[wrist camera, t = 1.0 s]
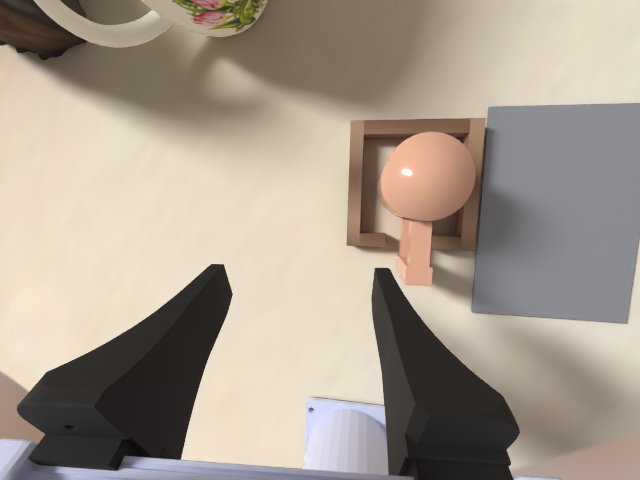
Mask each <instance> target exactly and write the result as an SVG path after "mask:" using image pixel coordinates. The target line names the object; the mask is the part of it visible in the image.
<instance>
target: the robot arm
mask: <svg viewBox="0 0 640 480" xmlns="http://www.w3.org/2000/svg"><path fill="white" fill-rule="evenodd" d="M232 295H233V294H232V291H231V287H230V284H229V281H228V277H227V274H226V271H225V267H224V264H211V265H210V266H209V267H207V268H206V269H205V270H204V271H203V272H202V273H201V274H200V275H199V276H197V277H196V278H195V279H194V280H193V281H192V282H191V283H190V284H188V285H187V286H186V287H185V288H184V289H183V290H182V291H180V292H179V293H178V294H177V295H176V296H174V297H173V298H172V299H171V300H169V301H168V302H167V303H166V304H164V305H163V306H162V307H161V308H159V309H158V310H157V311H156V312H154V313H153V314H151V315H150V316H149V317H147V318H146V319H144V320H143V321H141V322H140V323H138V324H137V325H135V326H134V327H132V328H131V329H129V330H127V331H126V332H124V333H122V334H121V335H119V336H117V337H116V338H114V339H113V340H111V341H109V342H107V343H105V344H104V345H102V346H100V347H98V348H96V349H94V350H92V351H90V352H89V353H87V354H85V355H83V356H81V357H79V358H76V359H74V360H72V361H70V362H68V363H66V364H64V365H61V366H59V367H57V368H55V369H53V370H50V371H48V372H46V374H45V375H44V376H43V377H42V378H41V379H40V380H39V382H38V383H37V384H36V385H35V386H34V387H33V388H32V390H31V391H30V392H29V393H28V394H27V395H26V396H25V398H24V399H23V400H22V401H21V402H20V403H19V405H18V407H17V411H18V413H19V415H20V416H21V417H22V418H23V419H25V420H26V421H27V422H29V423H30V424H32V425H33V426H35V427H36V428H37V429H39V430H40V431H42V432H43V433H45V436H44V437H43V438H42V440H41V441H40V443H37V442H34V441H29V440H17V439H4V438H3V439H0V480H561V479H559V478H554V477H539V476H516V477H513V478H512V475H511V472H510V470H509V467H508V466H510V465H511V461H510V458H509V456H508V453H507V451H506V450H507V449H508V447H509V446H510V445H511V444H512V443H513V442H514V441H515V440H516V438H517V437H518V435H519V433H520V432H519V427H518V425H517V422H516V420H515V418H514V416H513V414H512V412H511V410H510V408H509V406H508V405H507V403H506V401H505V399H504V398H503V396H502V395H501V394H499V393H498V392H497V391H496V390H494V389H493V388H492V387H490V386H489V385H488V384H487V383H485V382H484V381H483V380H481V379H480V378H479V377H478V376H476V375H475V374H474V373H473V372H472V371H471V370H470V369H468V368H467V367H466V366H465V365H464V364H463V363H462V362H461V361H460V360H459V359H458V358H457V357H456V356H454V355H453V354H452V353H451V352H450V351H449V350H448V349H447V348H446V347H445V346H444V345H443V344H442V343H441V341H440V340H439V339H438V338H437V337H436V336H435V335H434V334H433V333H432V332H431V330H430V329H429V328H428V327H427V326H426V324H425V323H424V322H423V321H422V319H421V318H420V317H419V315H418V314H417V313H416V311H415V310H414V309H413V307H412V306H411V304H410V303H409V301H408V300H407V298H406V297H405V295H404V294H403V292H402V291H401V289H400V287H399V285H398V284H397V282H396V280H395V278H394V276H393V274H392V272H391V270H390V269H389V268H375V272H374V281H373V290H372V314H373V323H374V328H375V334H376V340H377V346H378V351H379V357H380V363H381V370H382V380H383V393H384V406H381V405H372V404H364V403H356V402H347V401H339V400H331V399H322V398H314V397H310V398H308V399H307V402H306V433H305V459H304V464H303V468H302V469H297V468H284V467H270V466H257V465H243V464H229V463H216V462H202V461H188V460H181V456H182V451H183V447H184V442H185V438H186V433H187V429H188V425H189V421H190V418H191V414H192V410H193V406H194V402H195V399H196V395H197V392H198V388H199V385H200V382H201V379H202V375H203V372H204V369H205V366H206V363H207V360H208V358H209V355H210V353H211V351H212V348H213V346H214V344H215V341H216V339H217V337H218V334H219V332H220V330H221V327H222V325H223V323H224V320H225V318H226V315H227V313H228V309H229V306H230V302H231V298H232ZM310 407H312V408H313V409H314V410H311V409H310Z"/></svg>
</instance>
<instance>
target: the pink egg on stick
mask: <svg viewBox="0 0 640 480" xmlns="http://www.w3.org/2000/svg"><path fill="white" fill-rule="evenodd" d="M475 175H476V171H475V165H474V161H473V158H472V156H471V154H470V152H469V151H468V149H467V148H466V147H465V146H464V144H462V143H461V142H460V141H459V140H457V139H456V138H454V137H452V136H450V135H448V134H445V133H440V132H424V133H420V134H417V135H414V136H412V137H410V138H408V139H406V140H405V141H403V142H402V143H401V144H400V145H398V147H397V148H396V149H395V150H394V151H393V153H392V154H391V156H390V157H389V159H388V161H387V163H386V165H385V167H384V169H383V171H382V173H381V175H380V177H379V181H378V195H379V198H380V201H381V203H382V204H383V206H384V207H385V208H386V209H387V210H388V211H389V212H391V213H392V214H394V215H396V216H399V217H404V218H409V219H401V233H400V252H399V254H397V259H396V270H397V272H398V273H399V275H400V277H401V279H402V280H403V282H404V284H405V285H416V286H432V272H433V267H431V266H430V251H431V236H432V222H422V221H434V220H439V219H442V218H445V217H447V216H450V215H451V214H453V213H455V212H456V211H457V210H459V209H460V208H461V207H462V206H463V205H464V204H465V202H466V201H467V200H468V198H469V196H470V195H471V192H472V190H473V187H474V184H475ZM412 219H415V220H412Z"/></svg>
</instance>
